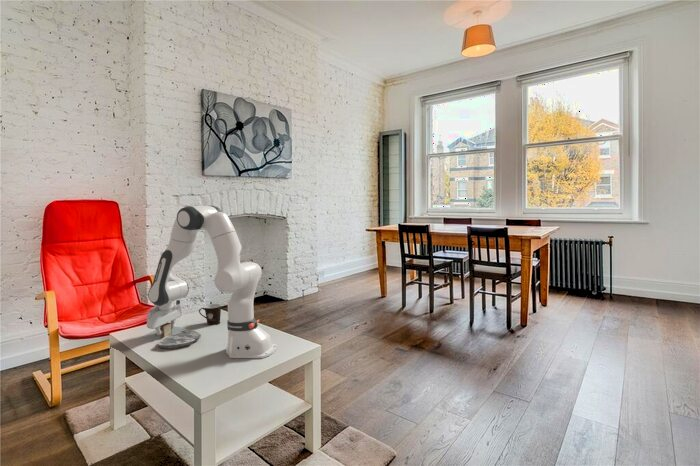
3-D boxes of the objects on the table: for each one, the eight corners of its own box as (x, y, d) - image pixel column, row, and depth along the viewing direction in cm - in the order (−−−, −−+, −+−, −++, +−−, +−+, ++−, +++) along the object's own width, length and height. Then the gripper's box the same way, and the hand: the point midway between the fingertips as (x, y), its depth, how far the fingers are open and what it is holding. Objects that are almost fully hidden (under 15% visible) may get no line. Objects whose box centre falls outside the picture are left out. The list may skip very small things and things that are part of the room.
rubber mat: (187, 328, 196) (187, 327, 196) (162, 341, 178) (162, 340, 178) (165, 326, 199) (165, 325, 199) (138, 338, 182) (138, 337, 182)
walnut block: (172, 334, 186) (171, 322, 185) (164, 338, 181) (163, 326, 180) (168, 334, 187) (167, 322, 186) (160, 338, 181) (159, 326, 181)
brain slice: (184, 353, 164) (184, 346, 164) (151, 350, 168) (150, 344, 168) (209, 337, 184) (209, 331, 183) (179, 335, 187) (178, 329, 187)
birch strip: (169, 329, 193) (169, 327, 193) (156, 335, 185) (156, 333, 184) (167, 329, 193) (167, 327, 193) (154, 335, 185) (154, 333, 185)
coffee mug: (225, 322, 204) (224, 305, 203) (212, 327, 197) (211, 309, 196) (211, 319, 210) (210, 302, 209) (198, 323, 203) (197, 306, 202)
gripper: (153, 310, 171) (155, 339, 173) (183, 299, 191) (185, 325, 192) (142, 310, 173) (144, 338, 174) (173, 298, 193) (174, 324, 194)
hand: (165, 331), depth 183 cm, fingers open, 7 cm apart
